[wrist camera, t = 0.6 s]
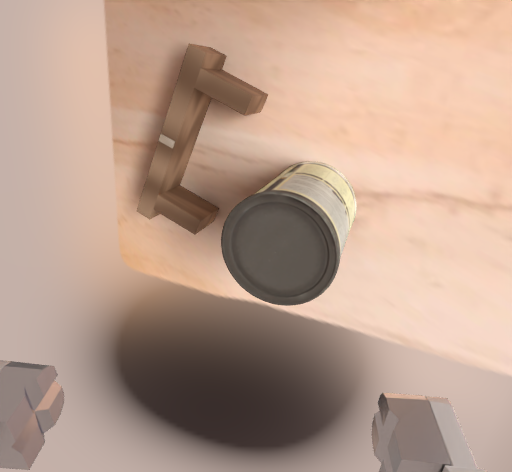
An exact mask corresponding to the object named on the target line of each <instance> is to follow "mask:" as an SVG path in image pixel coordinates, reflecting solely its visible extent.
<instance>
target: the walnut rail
mask: <svg viewBox="0 0 512 472" xmlns="http://www.w3.org/2000/svg"><path fill="white" fill-rule="evenodd" d="M225 59H226V55H224V54H222V53H220V52H218V51H216V50H215V49H213V48H210V47H204V46H199V45H193V44H189V45H188V48H187V51H186V54H185V58H184V61H183V64H182V67H181V70H180V74H179V77H178V80H177V83H176V86H175V90H174V93H173V96H172V99H171V102H170V106H169V109H168V112H167V115H166V118H165V122H164V125H163V128H162V131H161V134H160V137H159V141H158V144H157V147H156V150H155V153H154V157H153V160H152V163H151V166H150V169H149V173H148V176H147V179H146V182H145V185H144V189H143V192H142V195H141V198H140V201H139V205H138V208H137V212H139V213H140V214H142V215H144V216H145V217H147V218H148V219H151V218H153V217H155V216H157V215H159V214H162V215H164V216H165V217H167V218H169V219H170V220H172V221H174V222H175V223H177V224H178V225H180V226H182V227H183V228H185V229H187V230H188V231H190V232H192V233H193V234H197V233H198V232H199V231H201V230H202V229H204V228H205V227H206V226H208V225H209V224H210V223H212V222H213V221H214V219H215V217H216V214H217V212H218V210H219V208H217V207H216V206H214V205H212V204H211V203H209V202H207V201H206V200H204V199H202V198H200V197H199V196H197V195H195V194H194V193H192V192H190V191H189V190H187V189H185V188H184V187H182V186H180V183H181V180H182V178H183V175H184V172H185V169H186V166H187V164H188V161H189V158H190V155H191V153H192V150H193V147H194V144H195V142H196V139H197V136H198V133H199V131H200V128H201V125H202V122H203V120H204V117H205V114H206V111H207V109H208V106H209V103H210V100H211V98H214V99H216V100H217V101H219V102H221V103H223V104H225V105H227V106H228V107H230V108H232V109H234V110H236V111H237V112H239V113H241V114H243V115H249V114H254V113H258V112H261V110H262V108H263V106H264V103H265V101H266V99H267V96H268V94H266V93H264V92H262V91H260V90H259V89H257V88H255V87H253V86H251V85H249V84H247V83H246V82H244V81H242V80H240V79H238V78H236V77H234V76H233V75H231V74H229V73H227V72H225V71H223V70H222V67H223V65H224V62H225Z"/></svg>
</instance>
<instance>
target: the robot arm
mask: <svg viewBox="0 0 512 472" xmlns="http://www.w3.org/2000/svg"><path fill="white" fill-rule="evenodd" d="M57 375H58V374H57V372H56V370H55V367H54V366H48V365H39V364H29V363H21V362H12V361H1V360H0V468H10V469H11V468H12V469H25V470H30V468H31V466H32V464H33V463H34V461H35V459H36V457H37V455H38V454H39V452H40V450H41V449H42V447H43V445H44V443H45V439H44V433H45V432H46V431H48V430H49V429H50V428H51V427H53V426H54V425H55V424H56V422H57V420H58V418H59V416H60V415H61V411H62V408H63V404H64V392H63V389H62V387H61V386H60V385H59V384H58V383H57V382H55V381H54V380H55V379H56V377H57ZM378 405H379V410H380V411H379V412H377V413H375V414H374V418H373V422H372V443H373V449H374V454H375V456H376V457H377V459H379V461H380V462H381V463H382V464H381V467H380V470H379V472H487V471H486V470H485V469H480V468H478V467H477V464H476V462H475V460H474V457H473V455H472V452H471V450H470V447H469V445H468V442H467V440H466V438H465V435H464V433H463V430H462V428H461V426H460V423H459V421H458V418H457V416H456V413H455V411H454V409H453V406H452V404H451V402H450V401H449V400H448V399H447V398H439V397H424V396H420V395H406V394H392V393H382V394H381V395H380V398H379V401H378Z"/></svg>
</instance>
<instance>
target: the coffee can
mask: <svg viewBox="0 0 512 472" xmlns="http://www.w3.org/2000/svg"><path fill="white" fill-rule="evenodd" d="M355 215H356V198H355V194H354V191H353V188H352V186H351V184H350V183H349V182H348V180H347V179H346V178H345V176H344V175H342V174H341V173H340V172H339V171H338V170H336V169H335V168H333V167H331V166H329V165H326V164H324V163H319V162H302V163H298V164H295V165H293V166H290V167H289V168H287V169H286V170H284V171H283V172H282V173H281V174H280V175H279V176H278V177H276V178H275V179H274V180H272V181H271V182H270V183H269V184H267V185H266V186H264V187H263V188H262V189H260V190H259V191H258V192H256V193H255V194H254V195H252V196H250V197H248V198H246V199H244V200H243V201H242V202H240V203H239V204H238V205H237V206H236V207H235V208H234V209H233V210H232V211H231V212H230V214H229V215H228V217H227V219H226V221H225V224H224V226H223V230H222V237H221V247H222V254H223V258H224V260H225V263H226V265H227V268H228V270H229V271H230V273H231V274H232V276H233V277H234V279H235V280H236V281H237V282H238V284H239V285H240V286H241V287H242V288H244V289H245V290H246V291H247V292H249V293H250V294H251V295H253V296H255V297H257V298H259V299H261V300H263V301H265V302H269V303H272V304H277V305H298V304H303V303H306V302H309V301H311V300H313V299H315V298H316V297H318V296H319V295H321V294H322V293H323V292H324V291H325V290H326V289H327V288H328V287H329V286H330V284H331V283H332V281H333V279H334V278H335V275H336V273H337V270H338V266H339V262H340V257H341V254H342V251H343V248H344V245H345V242H346V240H347V237H348V234H349V231H350V228H351V226H352V224H353V222H354V219H355Z"/></svg>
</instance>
